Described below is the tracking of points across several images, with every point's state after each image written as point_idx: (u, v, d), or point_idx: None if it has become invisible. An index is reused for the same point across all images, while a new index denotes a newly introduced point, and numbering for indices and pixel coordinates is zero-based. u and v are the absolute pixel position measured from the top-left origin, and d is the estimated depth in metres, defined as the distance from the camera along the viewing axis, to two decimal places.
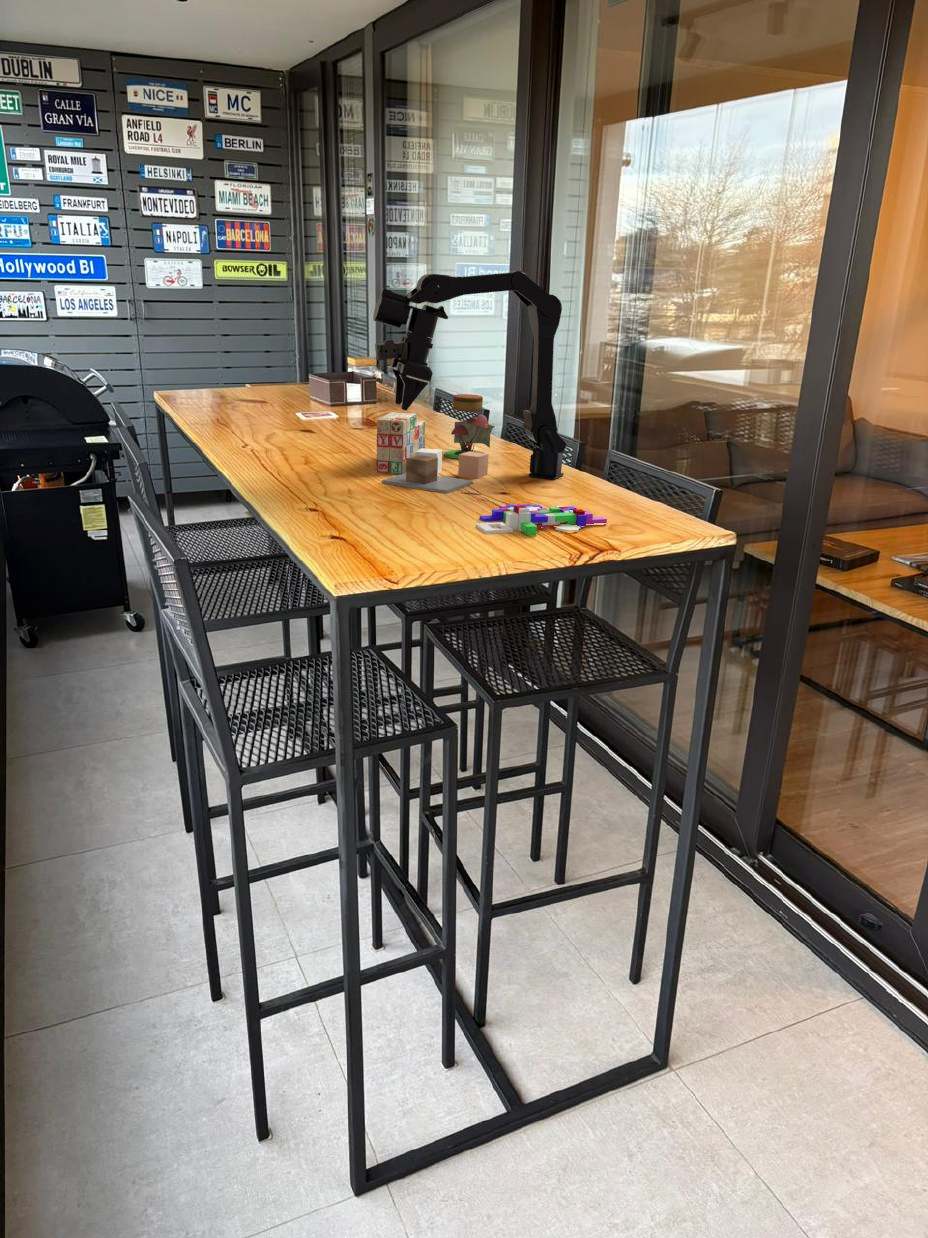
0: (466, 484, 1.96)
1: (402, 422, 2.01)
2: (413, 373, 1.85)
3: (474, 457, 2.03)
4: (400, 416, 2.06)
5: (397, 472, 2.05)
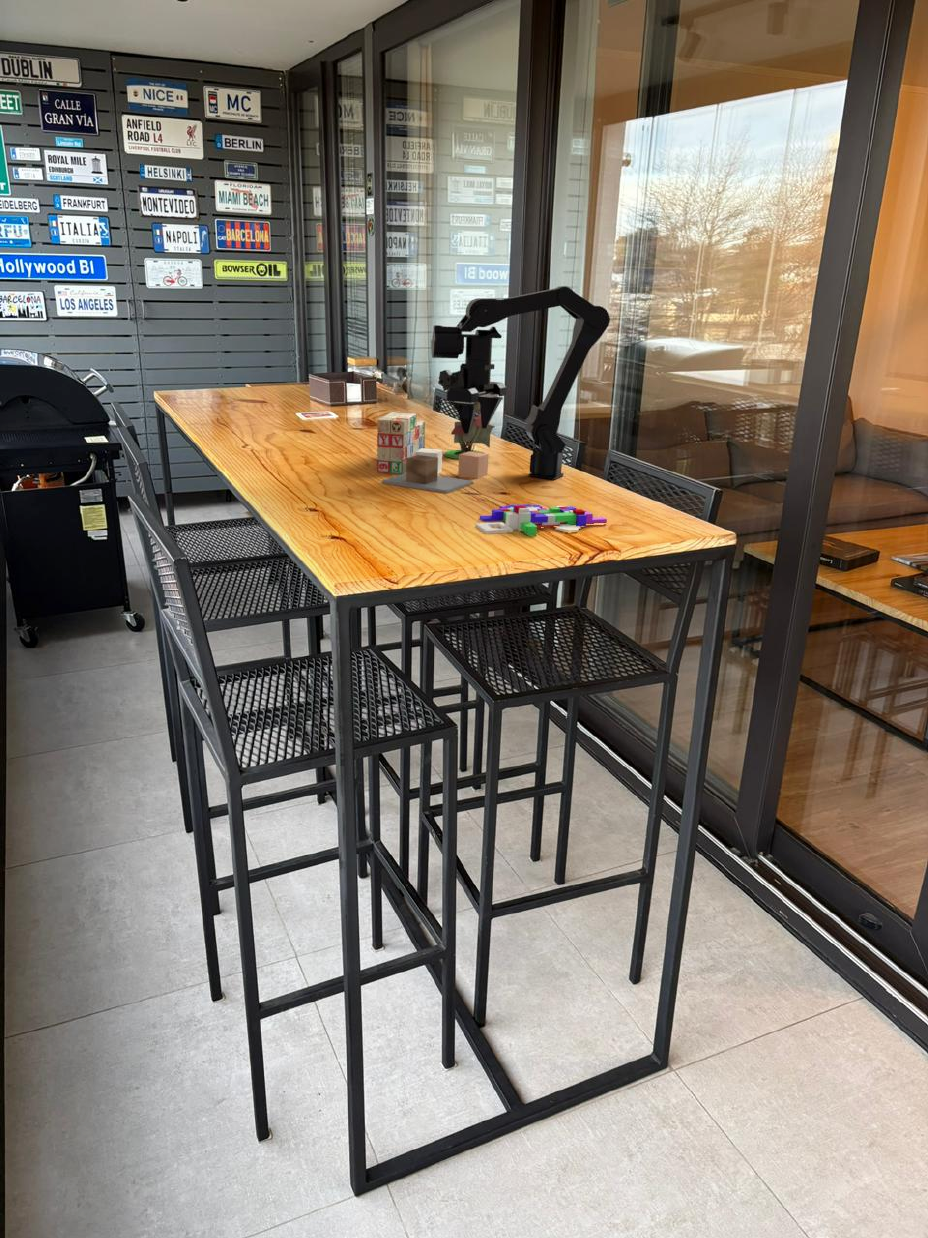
0: (466, 484, 1.96)
1: (402, 422, 2.01)
2: (453, 397, 1.93)
3: (474, 457, 2.03)
4: (400, 416, 2.06)
5: (397, 472, 2.05)
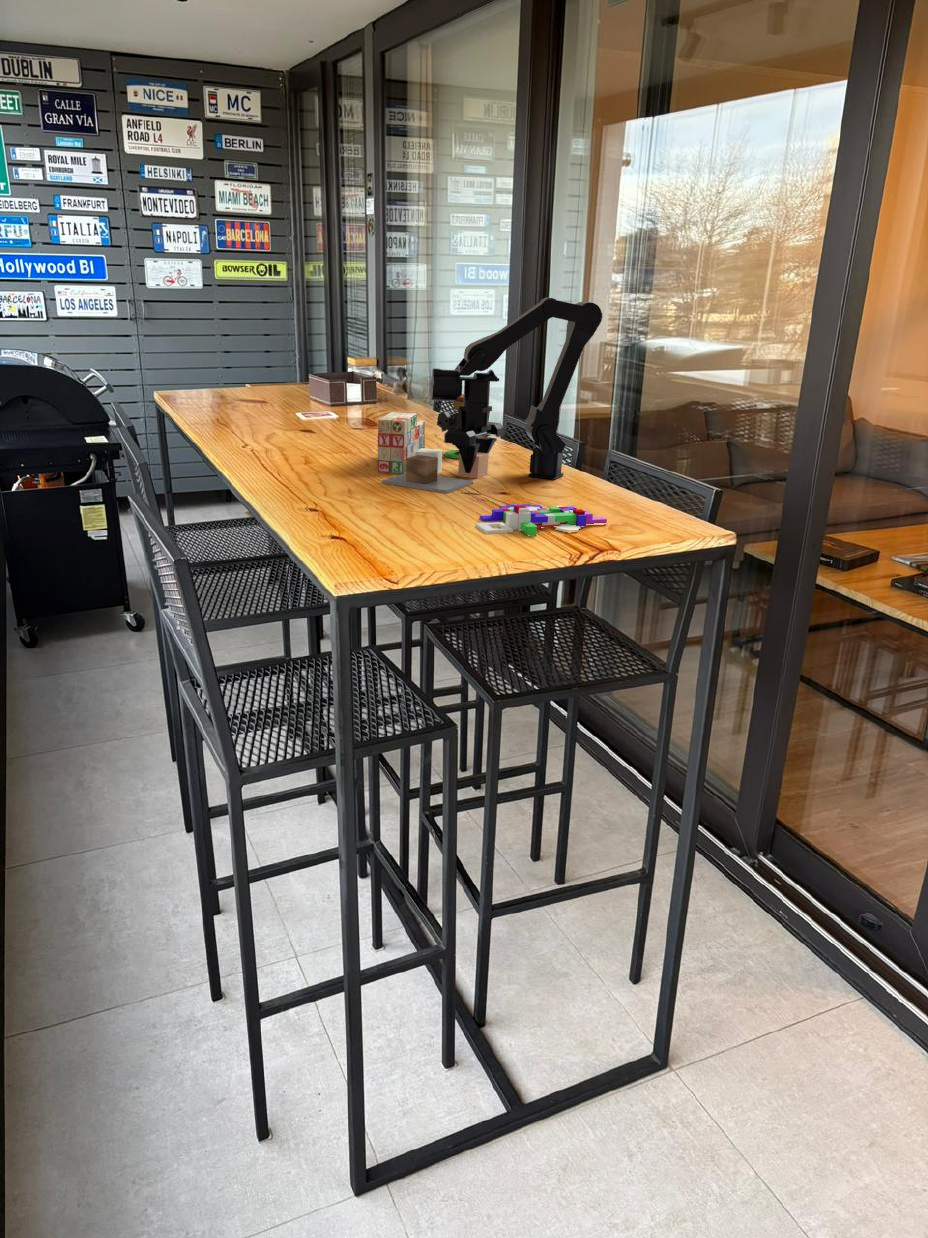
0: (466, 484, 1.96)
1: (403, 422, 2.01)
2: (451, 440, 1.96)
3: None
4: (401, 416, 2.06)
5: (398, 472, 2.05)
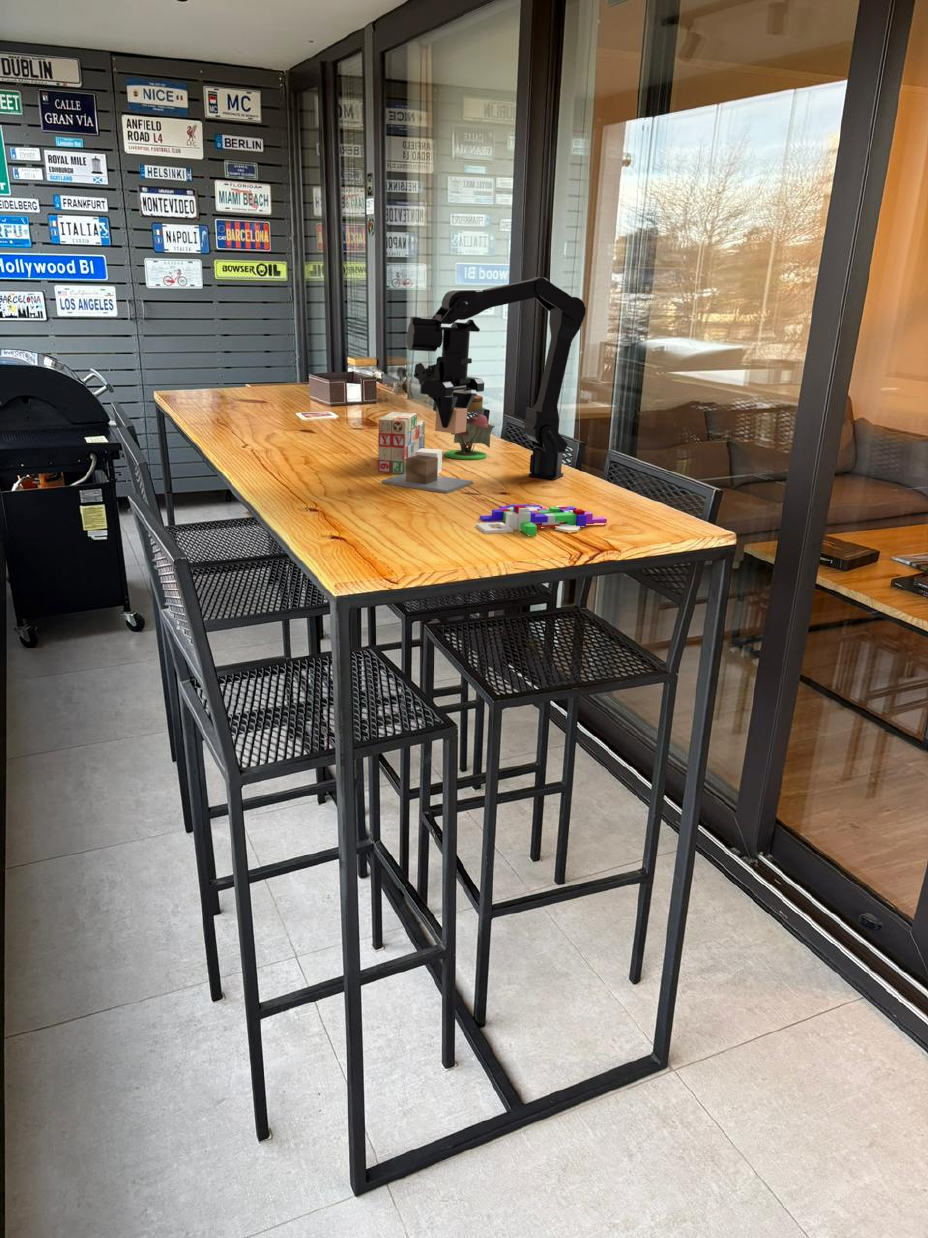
0: (466, 484, 1.96)
1: (404, 422, 2.01)
2: (427, 391, 1.88)
3: None
4: (401, 416, 2.06)
5: (399, 472, 2.05)
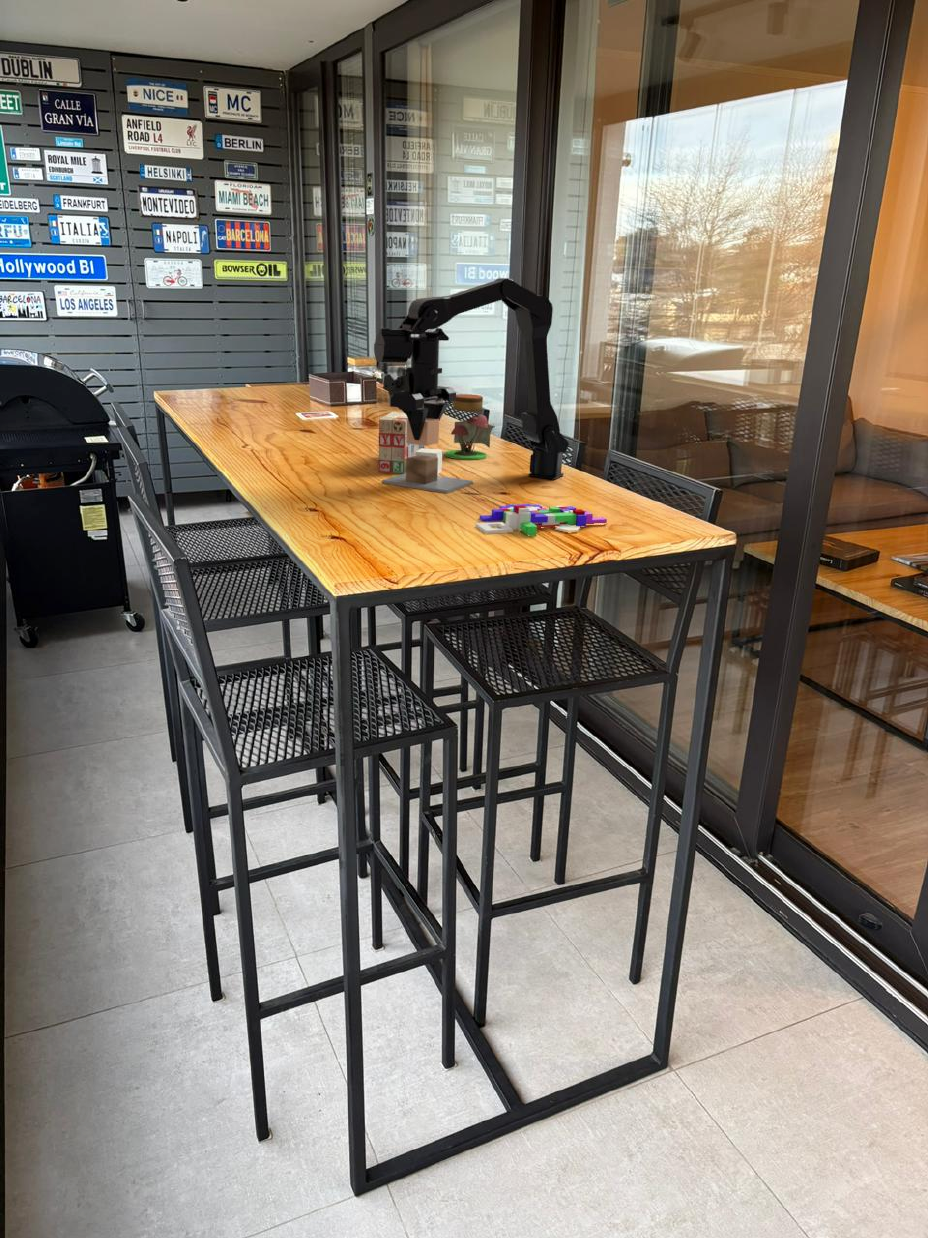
0: (466, 484, 1.96)
1: (404, 422, 2.01)
2: (397, 403, 1.83)
3: None
4: (401, 416, 2.06)
5: (399, 471, 2.05)
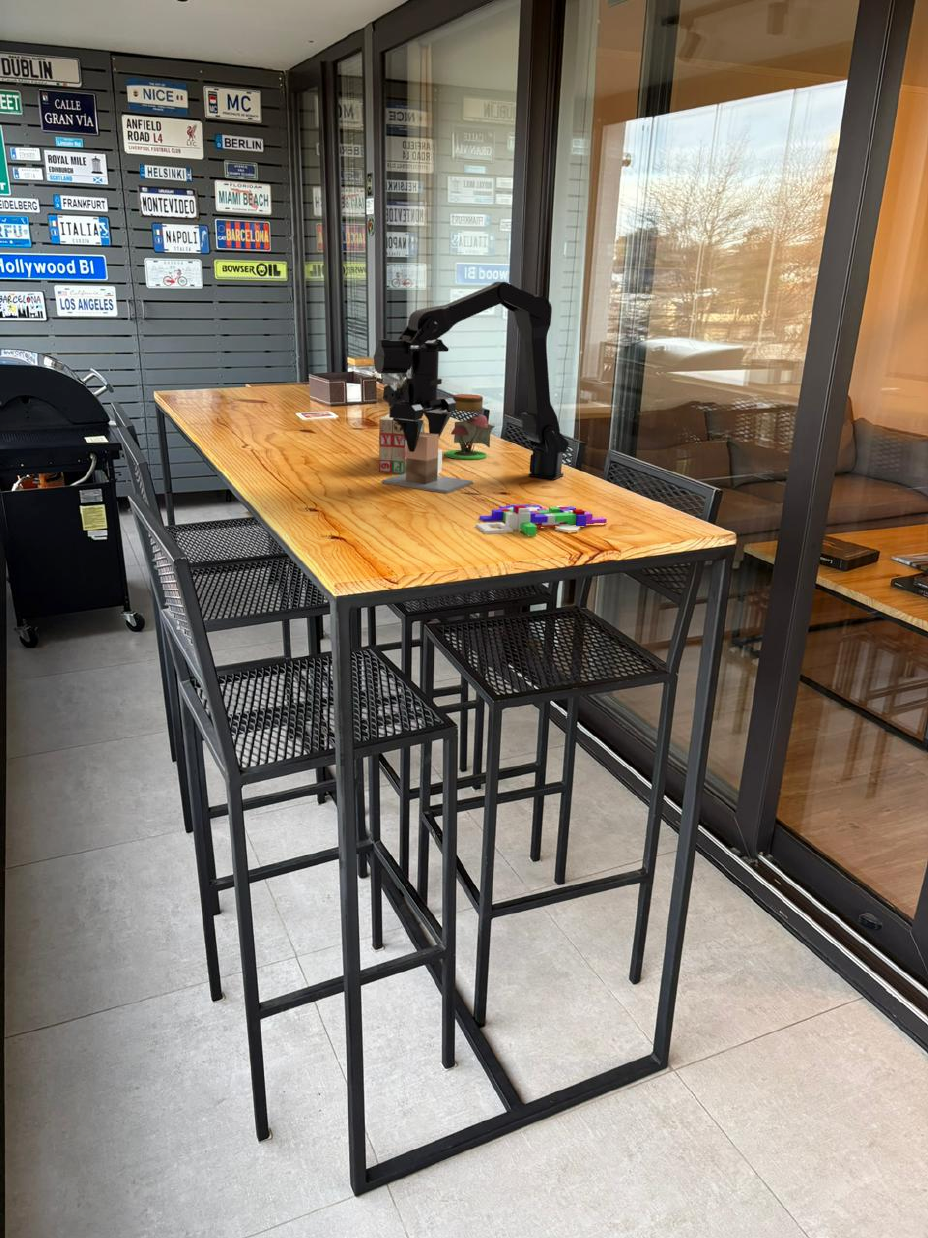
0: (466, 484, 1.96)
1: None
2: (397, 414, 1.84)
3: (422, 437, 1.90)
4: None
5: (399, 471, 2.06)
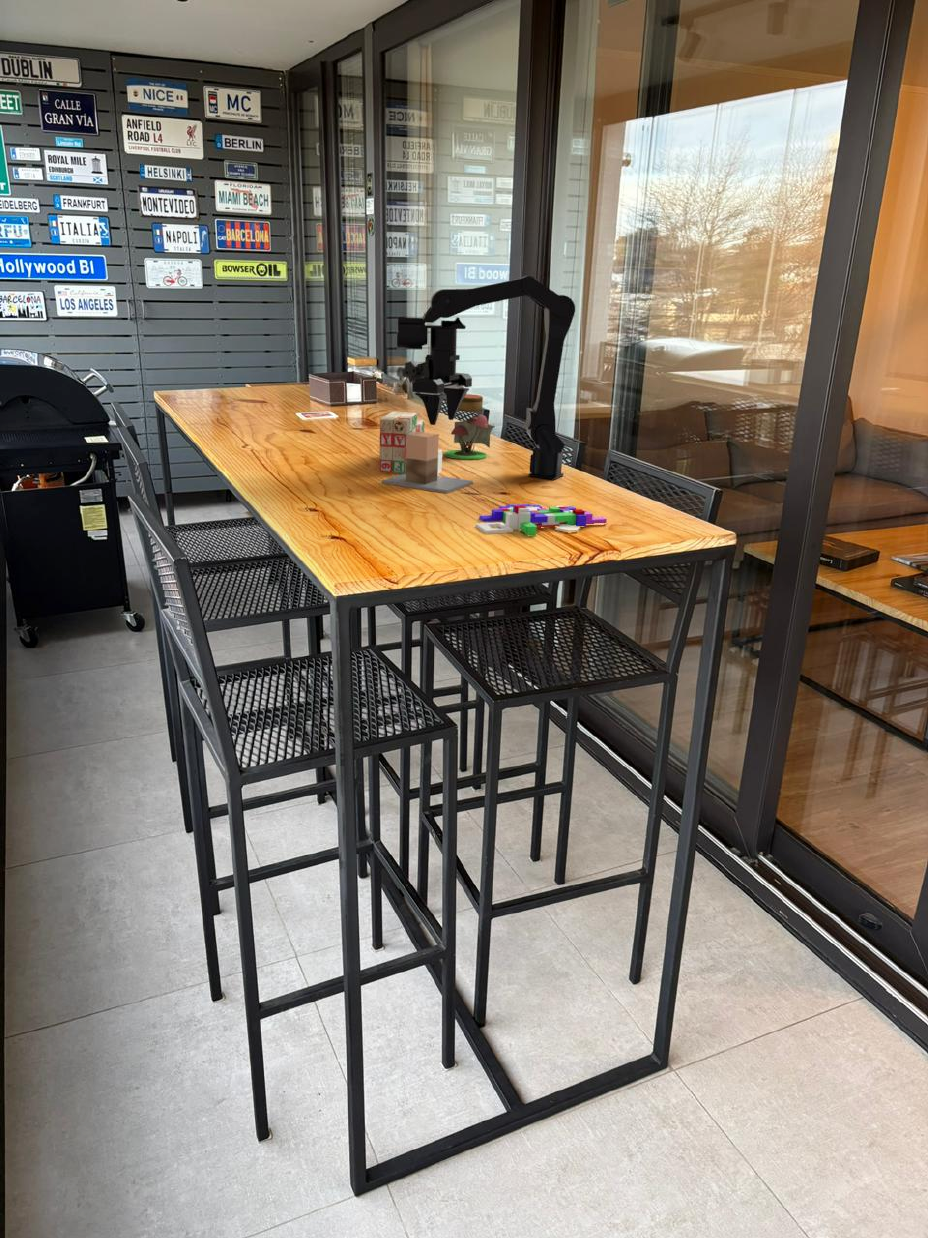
0: (466, 484, 1.96)
1: (405, 421, 2.02)
2: (419, 389, 1.93)
3: (422, 437, 1.90)
4: (402, 415, 2.07)
5: (400, 471, 2.06)
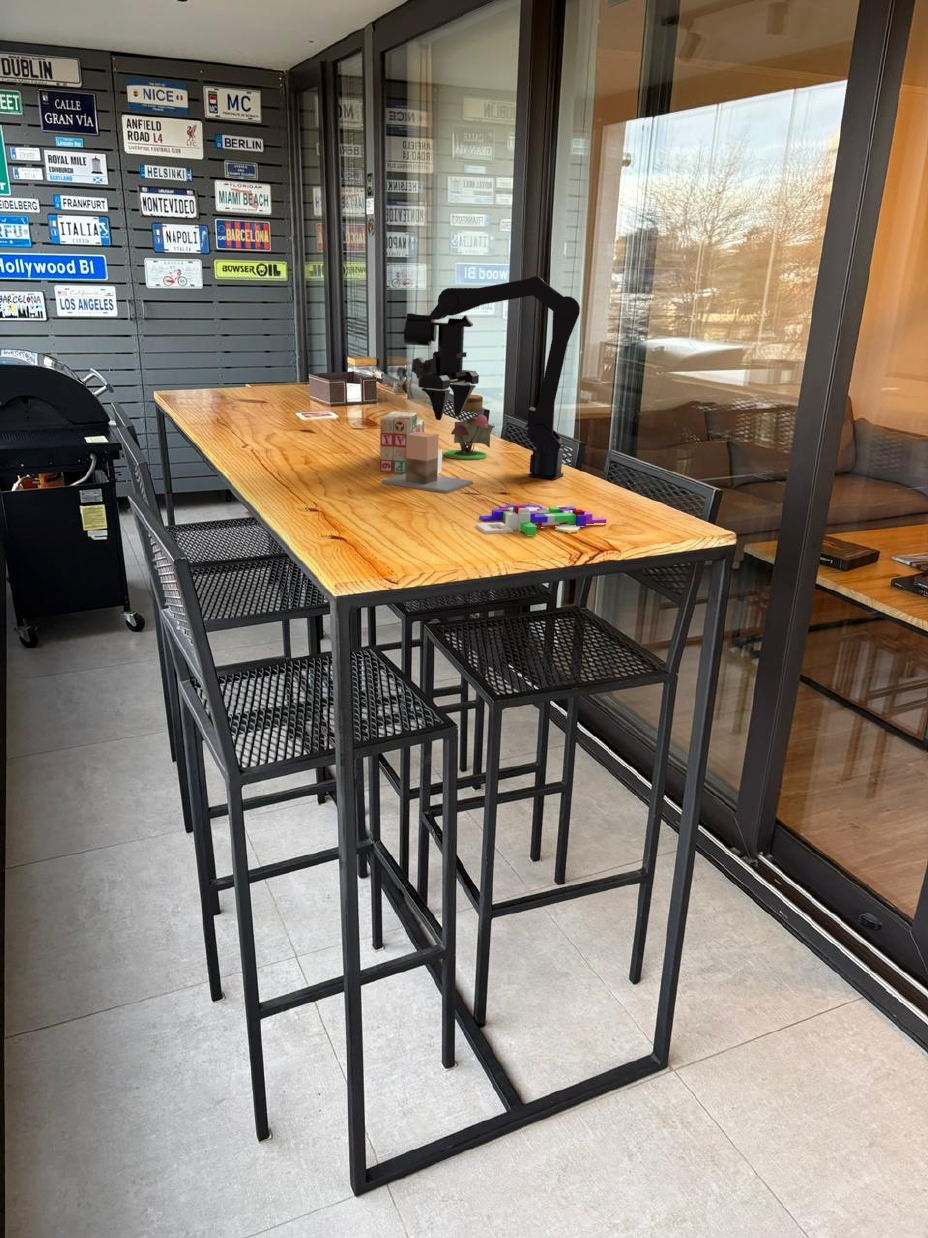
0: (466, 484, 1.96)
1: (406, 421, 2.02)
2: (425, 384, 1.97)
3: (422, 437, 1.90)
4: (402, 415, 2.07)
5: (401, 471, 2.06)
